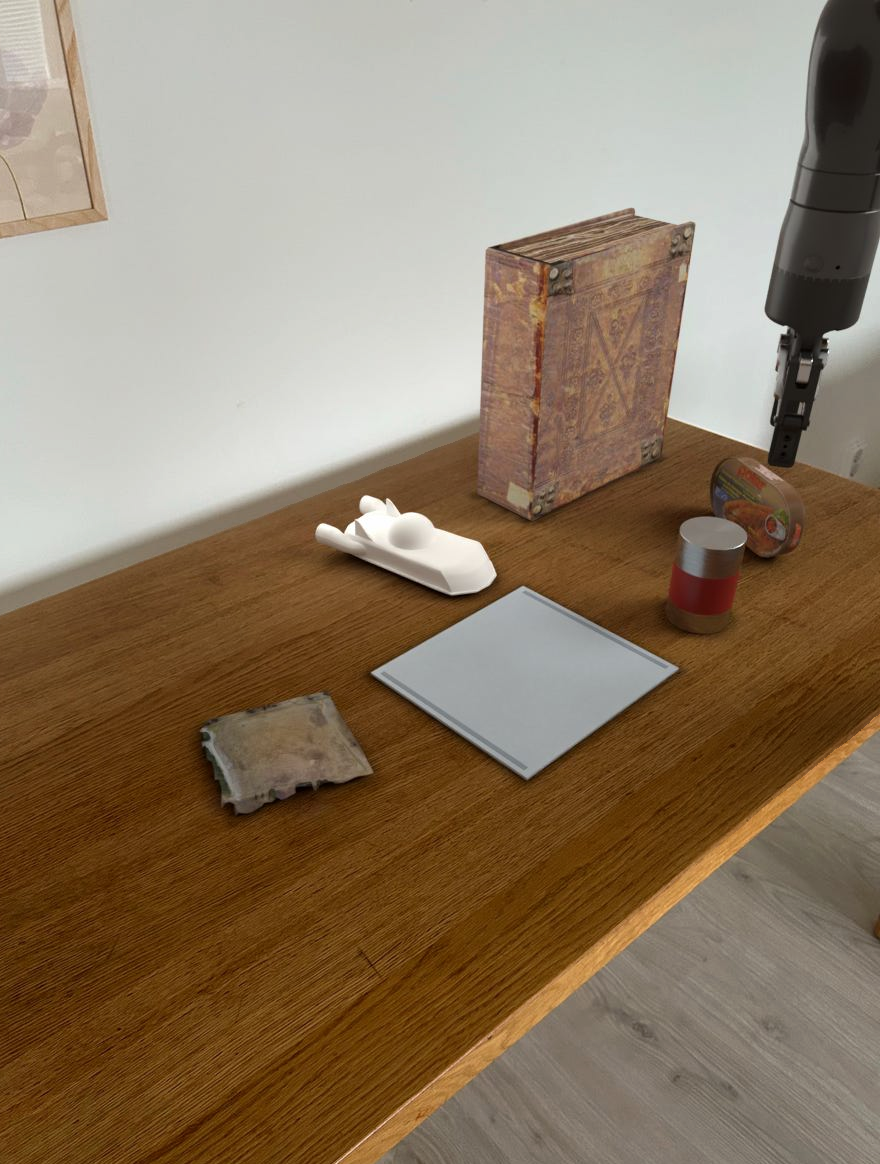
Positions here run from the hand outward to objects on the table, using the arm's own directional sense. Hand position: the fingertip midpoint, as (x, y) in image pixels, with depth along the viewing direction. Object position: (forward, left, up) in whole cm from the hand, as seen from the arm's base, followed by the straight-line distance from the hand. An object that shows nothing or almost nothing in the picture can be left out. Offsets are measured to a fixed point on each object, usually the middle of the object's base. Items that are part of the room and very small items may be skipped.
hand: (780, 444), depth 92 cm
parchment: (+17, +46, -20) cm, 53 cm away
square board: (+10, +22, -20) cm, 31 cm away
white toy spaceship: (+32, +16, -20) cm, 41 cm away
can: (+4, +2, -20) cm, 21 cm away
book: (+33, -13, -20) cm, 41 cm away
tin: (+9, -16, -20) cm, 28 cm away
